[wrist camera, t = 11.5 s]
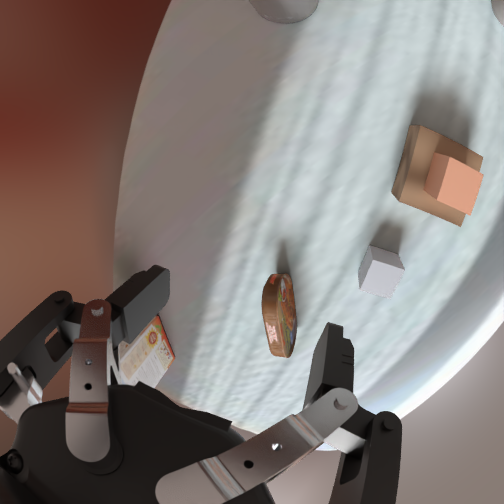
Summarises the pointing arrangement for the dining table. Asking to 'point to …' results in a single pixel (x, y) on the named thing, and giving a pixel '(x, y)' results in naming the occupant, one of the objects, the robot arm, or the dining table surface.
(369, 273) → the grey-blue cube
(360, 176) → the dining table surface
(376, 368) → the dining table surface
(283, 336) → the tin
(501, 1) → the lumpy-topped squat cylinder
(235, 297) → the dining table surface
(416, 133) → the walnut block
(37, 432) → the robot arm
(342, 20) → the dining table surface
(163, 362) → the cracker box
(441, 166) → the terracotta cube
